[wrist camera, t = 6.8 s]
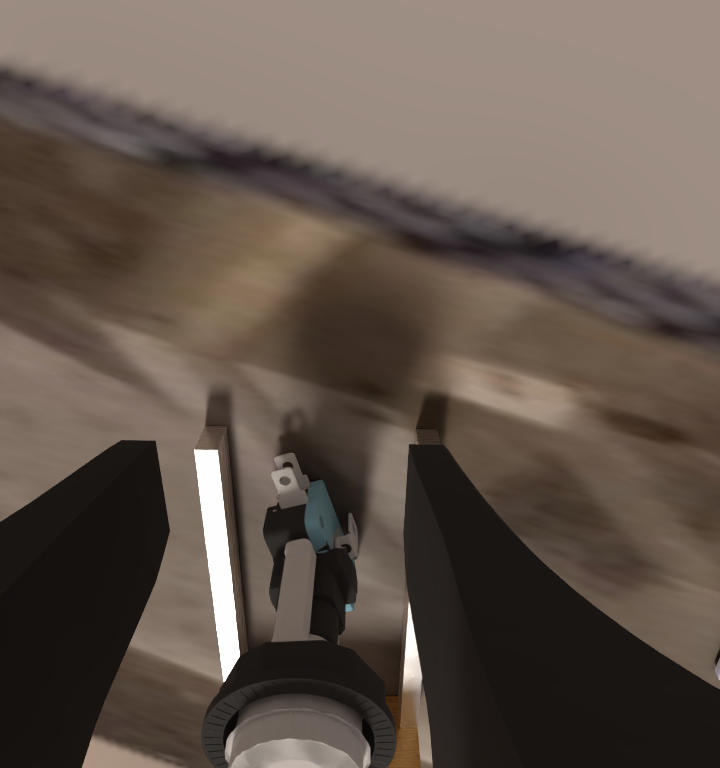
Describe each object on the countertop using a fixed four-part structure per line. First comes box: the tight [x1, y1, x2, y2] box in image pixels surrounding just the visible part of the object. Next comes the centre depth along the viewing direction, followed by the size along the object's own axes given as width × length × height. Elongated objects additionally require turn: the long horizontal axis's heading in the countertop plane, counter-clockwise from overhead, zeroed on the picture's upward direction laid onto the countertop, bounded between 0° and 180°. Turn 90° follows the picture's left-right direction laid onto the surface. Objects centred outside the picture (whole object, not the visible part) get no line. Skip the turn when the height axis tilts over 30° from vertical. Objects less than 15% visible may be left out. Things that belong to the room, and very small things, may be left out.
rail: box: [194, 426, 441, 768], centre depth 24 cm, size 9×16×5 cm, turn 179°
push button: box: [201, 453, 396, 768], centre depth 20 cm, size 7×5×10 cm
